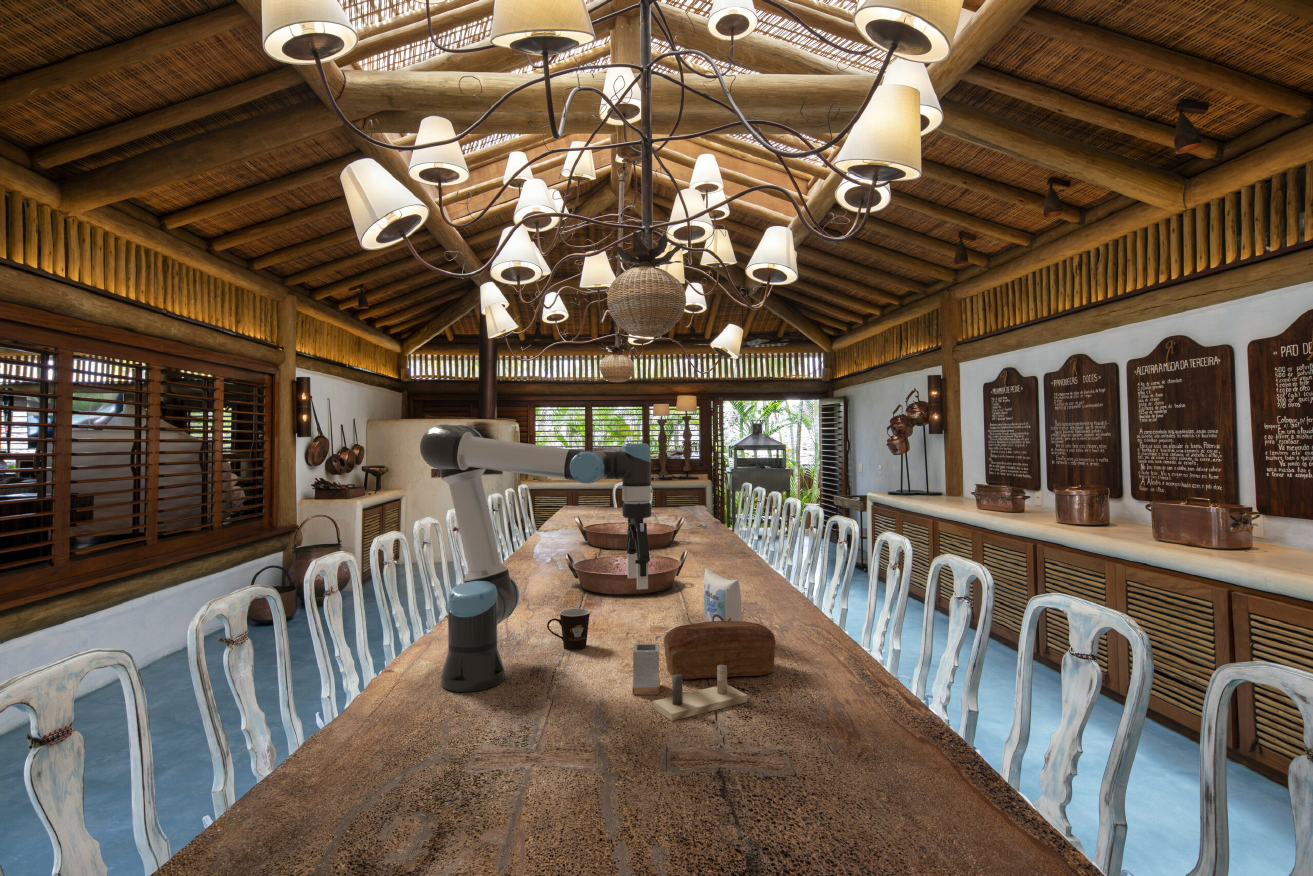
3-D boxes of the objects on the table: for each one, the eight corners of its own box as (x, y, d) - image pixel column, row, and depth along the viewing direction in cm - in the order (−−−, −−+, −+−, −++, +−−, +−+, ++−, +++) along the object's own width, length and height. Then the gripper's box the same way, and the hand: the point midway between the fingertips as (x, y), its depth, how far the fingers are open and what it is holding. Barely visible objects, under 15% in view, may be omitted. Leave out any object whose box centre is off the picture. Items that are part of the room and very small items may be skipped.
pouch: (720, 630, 203) (720, 566, 203) (749, 649, 185) (749, 578, 185) (697, 633, 200) (696, 568, 201) (724, 652, 183) (723, 580, 183)
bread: (781, 679, 162) (781, 629, 162) (669, 685, 158) (669, 634, 158) (764, 660, 176) (764, 615, 176) (661, 666, 172) (660, 619, 172)
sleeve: (660, 694, 152) (659, 651, 152) (632, 695, 152) (632, 651, 152) (659, 684, 158) (659, 643, 158) (633, 684, 158) (633, 643, 158)
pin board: (671, 721, 137) (671, 685, 137) (652, 707, 144) (652, 673, 144) (747, 701, 147) (746, 668, 147) (726, 690, 154) (725, 658, 154)
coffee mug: (592, 642, 192) (592, 608, 192) (586, 652, 183) (586, 616, 183) (553, 641, 193) (553, 608, 193) (546, 651, 184) (545, 615, 184)
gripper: (661, 506, 160) (662, 593, 159) (641, 498, 184) (642, 573, 184) (631, 507, 158) (631, 594, 158) (615, 498, 182) (615, 574, 182)
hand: (637, 583), depth 171 cm, fingers open, 13 cm apart
